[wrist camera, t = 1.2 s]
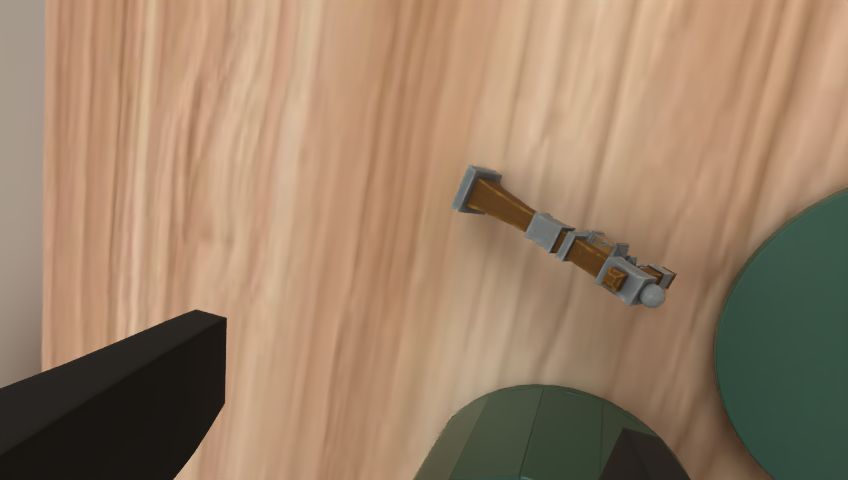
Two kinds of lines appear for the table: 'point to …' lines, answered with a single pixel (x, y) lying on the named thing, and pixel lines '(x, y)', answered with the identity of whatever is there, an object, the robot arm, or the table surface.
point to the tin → (529, 436)
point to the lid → (791, 347)
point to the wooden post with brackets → (566, 240)
